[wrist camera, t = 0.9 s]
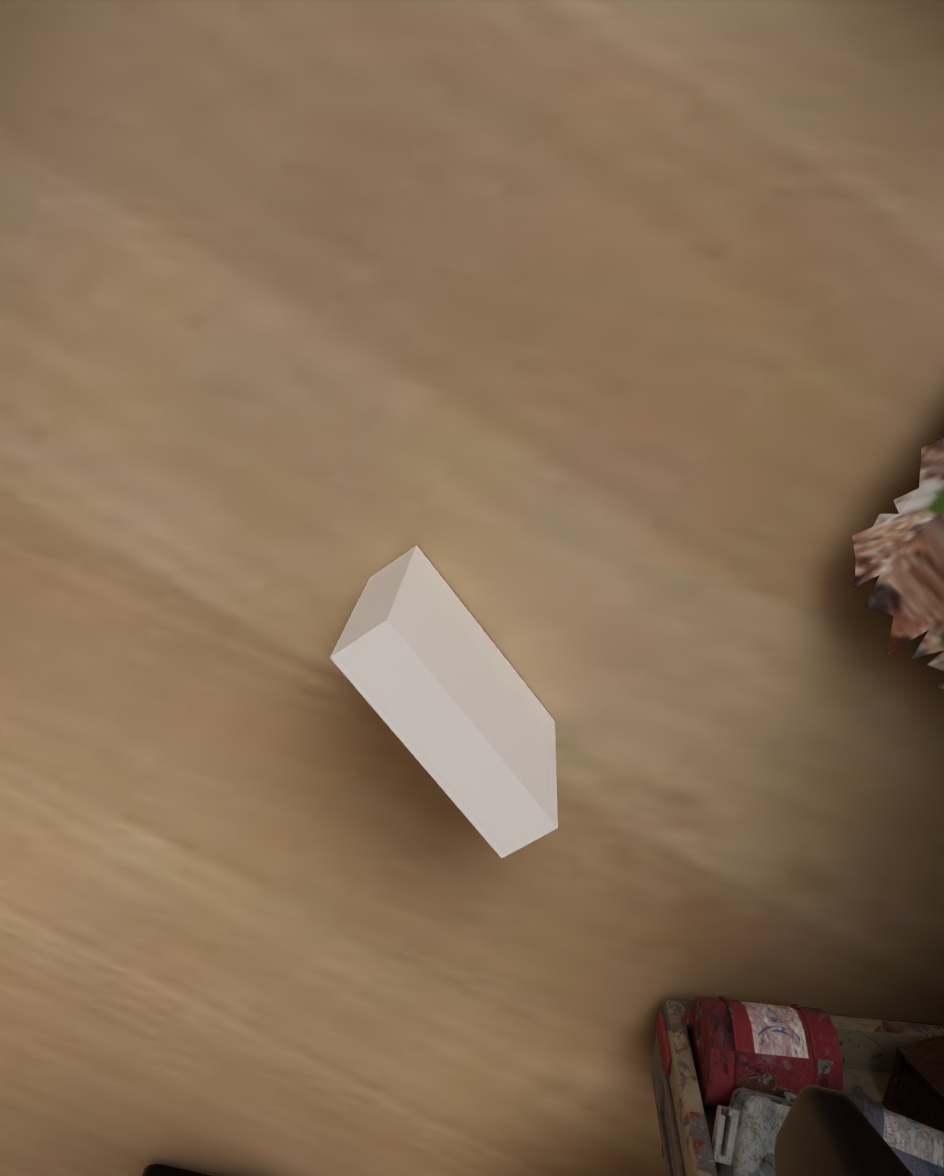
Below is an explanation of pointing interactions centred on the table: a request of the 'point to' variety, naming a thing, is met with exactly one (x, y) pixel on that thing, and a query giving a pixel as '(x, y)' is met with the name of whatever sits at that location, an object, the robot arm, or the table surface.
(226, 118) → the table surface
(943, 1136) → the toy vehicle
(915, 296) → the table surface
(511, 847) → the eraser
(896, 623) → the plant with pod
